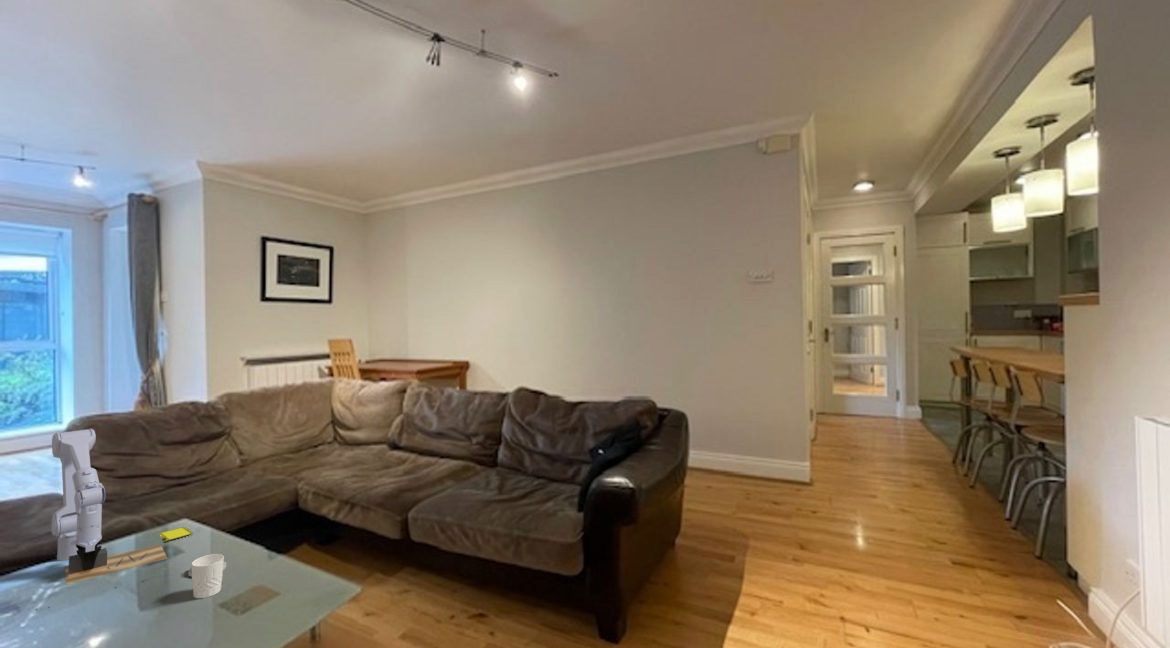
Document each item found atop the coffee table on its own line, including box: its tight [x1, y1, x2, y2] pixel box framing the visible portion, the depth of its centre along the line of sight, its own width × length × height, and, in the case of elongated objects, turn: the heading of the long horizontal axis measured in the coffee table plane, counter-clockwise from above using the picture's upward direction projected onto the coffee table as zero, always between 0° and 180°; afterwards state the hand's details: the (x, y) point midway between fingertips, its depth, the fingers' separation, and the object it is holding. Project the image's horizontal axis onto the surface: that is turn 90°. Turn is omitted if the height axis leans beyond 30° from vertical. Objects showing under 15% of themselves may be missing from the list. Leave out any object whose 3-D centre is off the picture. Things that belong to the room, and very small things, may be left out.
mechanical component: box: [187, 553, 227, 578], centre depth 163 cm, size 10×4×10 cm
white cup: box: [191, 553, 225, 599], centre depth 150 cm, size 8×8×10 cm
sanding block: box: [68, 547, 108, 578], centre depth 160 cm, size 5×9×5 cm, turn 138°
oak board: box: [64, 543, 169, 585], centre depth 165 cm, size 16×24×1 cm, turn 138°
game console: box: [152, 526, 194, 544], centre depth 186 cm, size 18×11×2 cm, turn 147°
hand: (88, 566), depth 160 cm, fingers closed on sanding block, 5 cm apart
